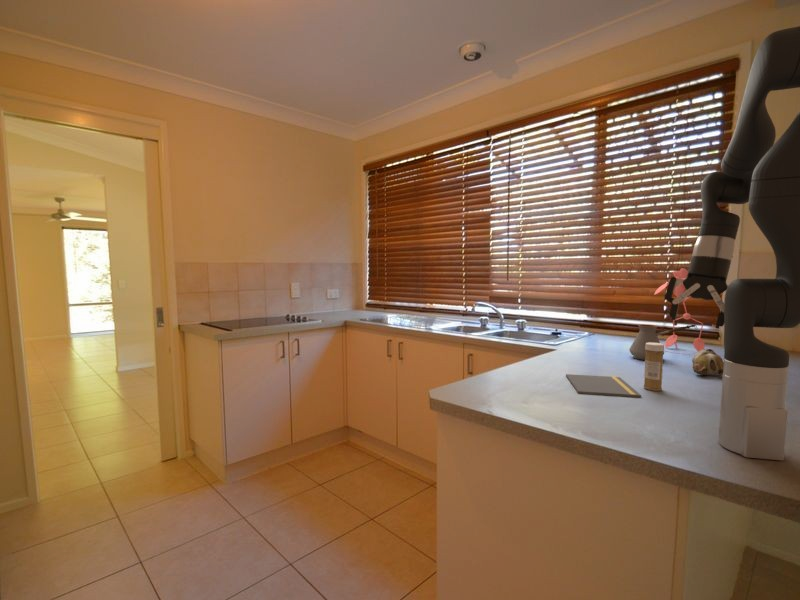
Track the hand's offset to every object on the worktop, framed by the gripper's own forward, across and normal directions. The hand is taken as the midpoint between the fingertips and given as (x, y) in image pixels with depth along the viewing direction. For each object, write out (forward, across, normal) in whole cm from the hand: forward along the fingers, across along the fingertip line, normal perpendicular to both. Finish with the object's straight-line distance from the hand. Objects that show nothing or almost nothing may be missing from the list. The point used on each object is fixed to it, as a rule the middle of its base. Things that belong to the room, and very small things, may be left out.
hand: (694, 324), depth 95 cm
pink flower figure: (+13, -6, +85) cm, 86 cm away
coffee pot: (+16, -10, +60) cm, 63 cm away
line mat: (+23, -19, +12) cm, 32 cm away
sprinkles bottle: (+21, -7, +18) cm, 29 cm away
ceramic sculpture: (+16, +5, +49) cm, 52 cm away
